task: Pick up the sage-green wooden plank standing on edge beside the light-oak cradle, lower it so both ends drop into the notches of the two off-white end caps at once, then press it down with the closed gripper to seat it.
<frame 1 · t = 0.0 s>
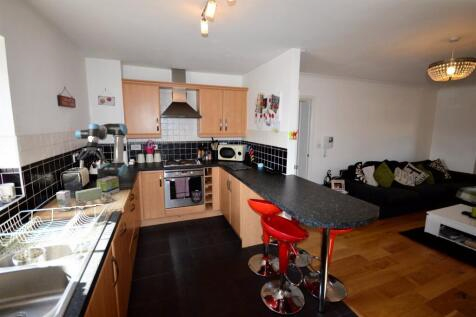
hand: (90, 168, 169), 28 cm above the countertop, tool tilted 20°, fingers open, 13 cm apart
slat: (90, 201, 175), on the countertop
tea box: (108, 193, 195), on the countertop
syrup box: (65, 210, 156), on the countertop
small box: (74, 196, 187), on the countertop
cradle: (94, 204, 169), on the countertop
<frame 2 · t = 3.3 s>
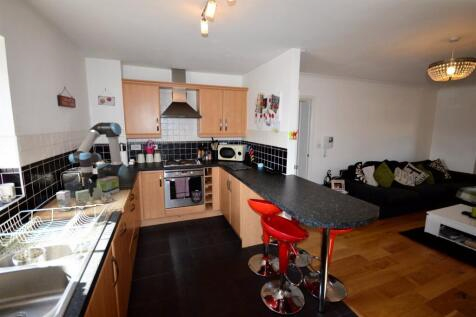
hand: (90, 199, 174), 2 cm above the countertop, tool pointing down, fingers open, 6 cm apart
slat: (90, 201, 175), on the countertop, touching gripper
everything else where it was.
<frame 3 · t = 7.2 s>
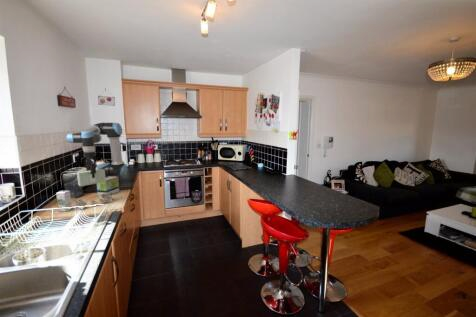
hand: (92, 181, 166), 19 cm above the countertop, tool pointing down, fingers closed on slat, 5 cm apart
slat: (92, 183, 166), point 17 cm above the countertop, touching gripper
everything else where it was.
when the fingers open (5 cm above the countertop, at t = 10.1 s): slat stays where it is, resting on cradle.
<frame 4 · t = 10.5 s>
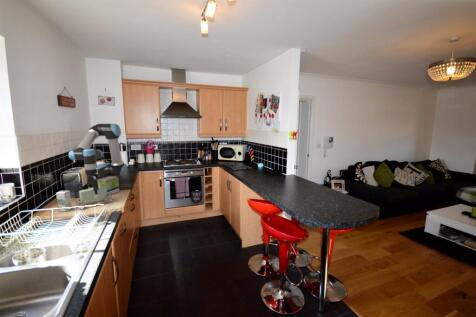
hand: (93, 196, 168), 6 cm above the countertop, tool pointing down, fingers open, 10 cm apart
slat: (94, 201, 168), point 2 cm above the countertop, touching cradle
everything else where it was.
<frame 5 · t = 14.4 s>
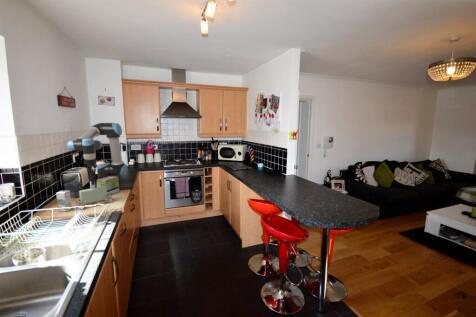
hand: (92, 188, 167), 13 cm above the countertop, tool pointing down, fingers closed
nothing on the countertop moved.
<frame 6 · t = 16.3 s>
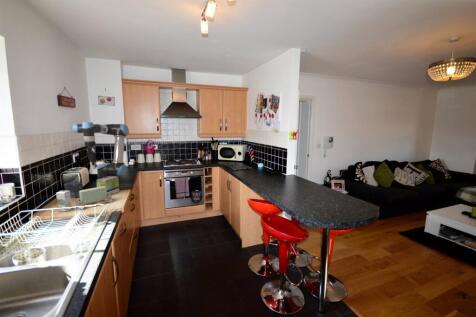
hand: (93, 168, 180), 25 cm above the countertop, tool pointing down, fingers closed
nothing on the countertop moved.
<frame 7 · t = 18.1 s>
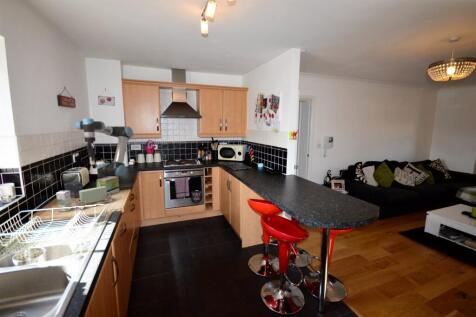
hand: (92, 164, 184), 28 cm above the countertop, tool pointing down, fingers closed
nothing on the countertop moved.
at the end: slat 0.1 cm off-centre on the cradle, point 2.5 cm above the cradle's base; slat tilted 0°; the gripper is holding nothing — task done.
